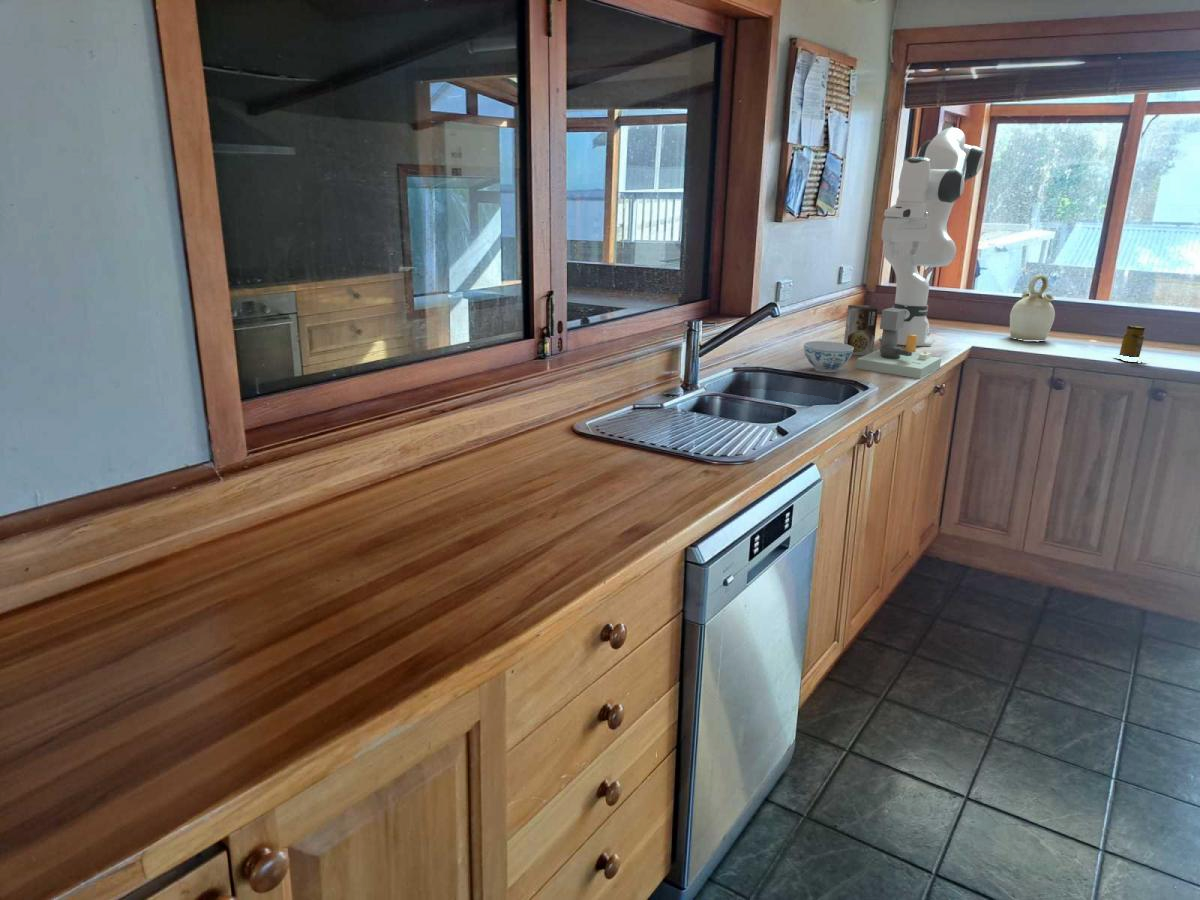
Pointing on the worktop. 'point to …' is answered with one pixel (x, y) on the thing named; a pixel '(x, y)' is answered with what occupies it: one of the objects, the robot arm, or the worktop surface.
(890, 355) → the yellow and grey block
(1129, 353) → the condiment
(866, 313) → the coffee box
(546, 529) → the worktop surface
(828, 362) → the chinaware
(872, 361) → the green base post mechanism
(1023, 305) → the jug
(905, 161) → the robot arm
